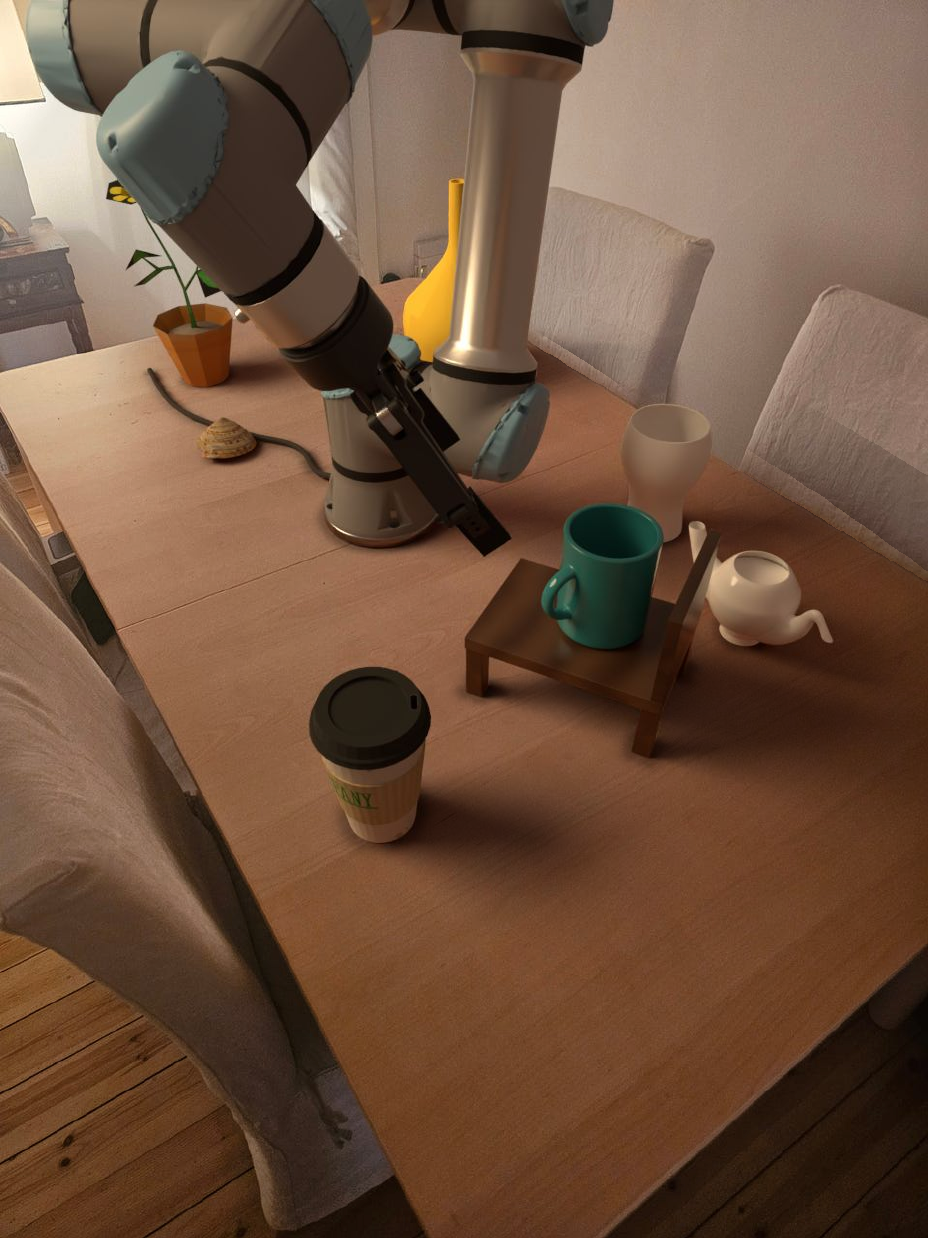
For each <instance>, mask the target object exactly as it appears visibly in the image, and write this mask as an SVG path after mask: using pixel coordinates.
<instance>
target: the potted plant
mask: <svg viewBox="0 0 928 1238" xmlns="http://www.w3.org/2000/svg"><path fill="white" fill-rule="evenodd" d="M105 199H106V200H109V201H113V202H117V203H121V204H127V205H135V204H138V203H137V202H136V201H135V200H134V199H133V198H132V196H131V195H130V194H129V193H128V192H127V191H126V189H125V188H124V187H123V186H122V185H121V184H120V183H119V181H118V180H117V179H116V180H113V181H111V182H108V184H107V191H106V195H105ZM139 208H140V210H141V212H142V215H143V217H144V219H145V221H146V224H147V225H148V226H149V228H150V229H151V231H152V233H153V235H154V236H155V238H156V239H157V241H158V243H159V245H160V247H161V248H162V250H163V251H164V253H165V255H166V257H167V259H168V261H169V263H170V264H171V265H166V266H160V267H158V266H157V265H156V264H154V263H152V261H150V260H149V259H147V258H155V257H156V258H157V257H162V255H161V254H156V253H152V252H149V251H145V250H144V251H143V250H140V249H138V248H137V249H135V250H134V252H133V254H132V256H131V258H130V261H129V262H128V264H127V266H126V267H125V272H126V271H127V270H128V269H130V268H131V267H133V266H134V265H135V264H136V263H138V262H139V261H140V260H141V259H142V260H144V261H145V262H146V263H147V264H148V265H150V266H151V267H152V268H153V269H154V270H153V271H151V272H149V274H147V275H146V276H145V277H144V278H142V279H141V280H140V281H138V282H137V283H136V284H135V285H133V288H134V287H139V286H143V285H146V284H147V283H148V282H150V281H152V280H153V279H154V278H155V277H157V276H159V274H161V273H162V272H163V271H167V270H173V272H174V273H175V275H176V277H177V279H178V282H179V284H180V286H181V289H182V292H183V297H184V300H185V305H178V306H175V307H173V308H171V309H168V310H166V311H163V312H161V313H159V314H157V315H156V317H155V320H154V322H153V324H152V327H153V329H154V331H155V333H156V334H157V336H158V338H159V339H160V341H161V343H162V345H163V346H164V348H165V350H166V352H167V354H168V356H169V357H170V359H171V360H172V362H173V364H174V366H175V367H176V369H177V371H178V373H179V374H180V376H181V378H182V380H183V381H184V382H185V383H187V384H188V385H190V386H191V387H200V388H201V387H203V388H208V387H212V386H215V385H218V384H222V383H223V382H224V381H225V380H226V379H227V378H228V377H229V373H230V360H231V348H232V336H233V335H232V333H233V320H234V319H233V318H234V317H233V315H232V314H231V312H230V311H229V308H227V307H226V306H221V305H216V304H211V303H207V302H206V303H204V302H203V303H196V304H195V303H194V304H191V302H190V298H189V295H188V292H187V291H188V289H189V287H191V284H192V282H193V281H194V279H195V277H197V280H198V282H199V285H200V287H201V291H202V293H203V296H204V299H206V298H208V297H211V296H213V295H216V294H218V293H220V292H222V291H221V290H220V289H219V288H218V287H217V286H216V285H215V284H214V283H213V282H212V281H211V280H210V279H209V278H208V277H207V276H206V275H205V274H204V272H203V271H202V270H201V269H200V268H199V267H198V266H197V265H196V267H195V270H194V272H193V274H192V275H191V277H190V279H188V282H187V283H186V285H185V284H184V282H183V280H182V277H181V274H180V273H179V271H178V268H177V266H176V264H175V262H174V260H173V258H172V257H171V255H170V254H169V252H168V250H167V248H166V246H165V245H164V243H163V242H162V240H161V238H160V236H159V235H158V233H157V231H156V230H155V229H154V227H153V225H152V224H151V222H150V219H149V218H148V217H147V216H146V215H145V214H144V211H143V209H142V208H141V207H140V206H139Z"/></svg>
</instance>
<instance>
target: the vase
mask: <svg viewBox="0 0 928 1238" xmlns="http://www.w3.org/2000/svg"><path fill="white" fill-rule="evenodd" d="M463 186H464V178H452V179H449V180H448V244H447V247H446V250H445V252H444V254H443V257H442V258H441V259H440V260H439V261H438V263H437V264H436V265H435V266H434V267H433V269H432V270H431V271H430V272H429V273H428V275H427V276H426V277H425V278H424V279H423V281H422V282H420V284H419V285H418V286H416V288H415V289H414V290H413V292H411V294H409V295H408V297H407V298H406V300H405V303H404V307H403V308H404V309H403V313H402V324H403V325H402V326H403V335H404V336H408V337H410V338H412V339H413V340H414V341H416V343H417V344H418V346H419V349H420V350H421V357H420V359H421V360H424V361H428V362H433V354H434V350H435V349H436V348H437V347H439V346H440V345H441V344H442V343H443V342H445V341H446V340H447V338H448V337H449V331H450V321H451V311H452V300H453V290H454V279H455V269H456V259H457V248H458V238H459V228H460V217H461V207H462V196H463Z"/></svg>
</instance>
